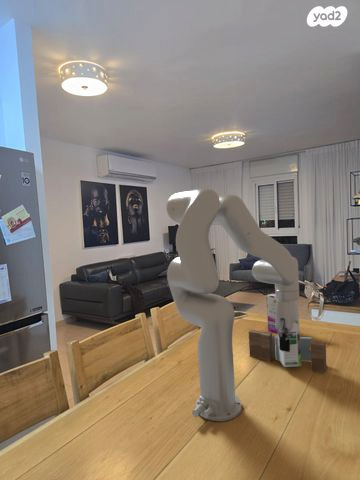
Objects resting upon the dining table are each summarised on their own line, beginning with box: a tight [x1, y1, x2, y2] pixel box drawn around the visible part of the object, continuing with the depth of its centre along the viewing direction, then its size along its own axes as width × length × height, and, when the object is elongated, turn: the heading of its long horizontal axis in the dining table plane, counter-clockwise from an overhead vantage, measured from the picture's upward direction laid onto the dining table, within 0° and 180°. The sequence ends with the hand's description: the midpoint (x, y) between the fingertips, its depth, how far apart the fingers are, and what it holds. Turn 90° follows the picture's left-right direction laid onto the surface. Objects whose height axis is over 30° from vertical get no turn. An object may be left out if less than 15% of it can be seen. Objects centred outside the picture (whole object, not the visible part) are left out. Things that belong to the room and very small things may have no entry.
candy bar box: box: [266, 292, 278, 334], centre depth 137 cm, size 11×5×16 cm, turn 37°
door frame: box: [248, 329, 328, 375], centre depth 109 cm, size 3×26×10 cm, turn 53°
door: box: [272, 334, 313, 362], centre depth 110 cm, size 2×13×9 cm, turn 79°
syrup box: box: [277, 321, 302, 368], centre depth 105 cm, size 6×6×14 cm
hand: (289, 345), depth 105 cm, fingers closed on syrup box, 7 cm apart
